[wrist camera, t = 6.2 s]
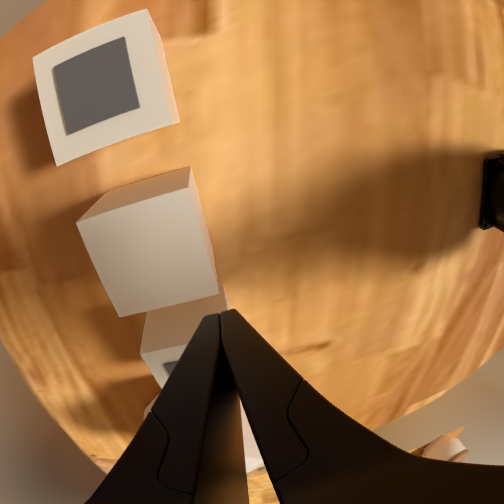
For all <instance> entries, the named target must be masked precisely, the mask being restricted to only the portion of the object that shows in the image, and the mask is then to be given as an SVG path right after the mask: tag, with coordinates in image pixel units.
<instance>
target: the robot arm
mask: <svg viewBox="0 0 504 504" xmlns="http://www.w3.org/2000/svg"><path fill="white" fill-rule="evenodd" d="M479 226H480V228H481V229H483V230H486V229H489V228H492V227H495V228H497V229H499V230H500V231H502V232H504V152H503V153H501V154H500V156H496V157H488V158H486V159H485V161H484V178H483V194H482V206H481V216H480V224H479ZM240 400H241V403H242V406H243V409H244V411H245V414H246V417H247V420H248V423H249V425H250V428H251V431H252V433H253V436H254V439H255V441H256V444H257V447H258V449H259V452H260V455H261V457H262V460H263V462H264V465H265V467H266V470H267V472H268V475H269V477H270V480H271V482H272V484H273V487H274V490H275V492H276V495H277V497H278V500H279V502H280V504H504V466H501V465H483V464H471V463H461V462H453V461H445V460H438V459H432V458H426V457H421V456H417V455H414V454H411V453H409V452H406V451H404V450H402V449H400V448H398V447H396V446H394V445H393V444H391V443H389V442H388V441H386V440H384V439H383V438H381V437H380V436H378V435H377V434H375V433H374V432H372V431H371V430H369V429H367V428H366V427H364V426H363V425H361V424H360V423H358V422H357V421H355V420H354V419H352V418H351V417H349V416H348V415H346V414H345V413H344V412H342V411H341V410H340V409H338V408H337V407H336V406H334V405H333V404H332V403H330V402H329V401H328V400H327V399H326V398H325V397H323V396H322V395H321V394H320V393H319V392H318V391H317V390H315V389H314V388H313V387H312V386H311V385H310V384H309V383H308V382H307V381H306V380H304V379H303V377H302V376H301V375H300V374H299V373H298V372H297V371H296V370H295V369H294V368H293V367H292V366H291V365H290V364H289V363H288V362H287V361H286V360H285V359H284V358H283V357H282V356H281V355H280V354H279V353H278V352H277V351H276V350H275V349H274V348H273V347H272V346H271V345H270V344H269V343H268V342H267V341H266V340H265V339H264V338H263V337H262V336H261V335H260V334H259V333H258V332H257V331H256V330H255V329H254V328H253V327H252V326H251V325H250V324H249V323H248V322H247V321H246V320H245V319H244V317H243V316H242V315H241V314H240V313H239V312H238V311H237V310H236V309H230V310H226V311H222V312H221V313H220V314H219V313H214V314H209V315H205V316H204V317H203V318H202V320H201V322H200V324H199V325H198V327H197V329H196V331H195V332H194V334H193V336H192V337H191V339H190V341H189V343H188V344H187V346H186V348H185V350H184V351H183V353H182V355H181V357H180V358H179V360H178V362H177V364H176V365H175V367H174V369H173V371H172V372H171V374H170V376H169V378H168V379H167V381H166V383H165V385H164V386H163V388H162V390H161V392H160V393H159V395H158V397H157V399H156V400H155V402H154V404H153V406H152V407H151V411H152V412H151V411H150V412H148V414H147V416H146V418H145V419H144V421H143V423H142V425H141V426H140V428H139V430H138V431H137V433H136V435H135V436H134V438H133V440H132V441H131V442H130V444H129V445H128V447H127V448H126V450H125V451H124V453H123V454H122V455H121V457H120V458H119V460H118V461H117V462H116V464H115V465H114V466H113V468H112V469H111V471H110V472H109V473H108V475H107V476H106V477H105V479H104V480H103V482H102V483H101V484H100V485H99V487H98V488H97V489H96V491H95V492H94V493H93V495H92V496H91V497H90V498H89V499H88V500H87V501H86V502H85V503H84V504H249V495H248V485H247V475H246V464H245V453H244V442H243V431H242V419H241V406H240Z"/></svg>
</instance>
